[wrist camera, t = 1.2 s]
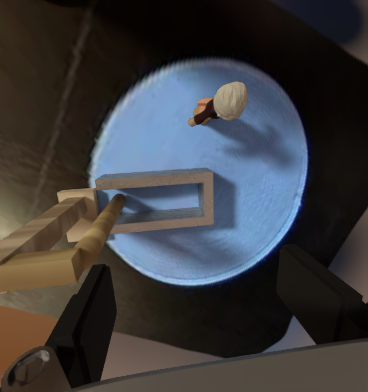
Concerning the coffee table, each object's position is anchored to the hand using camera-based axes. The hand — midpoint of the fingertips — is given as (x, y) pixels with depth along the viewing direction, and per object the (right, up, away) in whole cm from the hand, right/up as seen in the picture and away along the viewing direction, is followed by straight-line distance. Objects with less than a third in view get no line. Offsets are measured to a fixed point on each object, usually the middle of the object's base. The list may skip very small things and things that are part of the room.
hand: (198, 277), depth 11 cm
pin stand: (-15, +2, +22) cm, 26 cm away
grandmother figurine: (+2, +17, +20) cm, 26 cm away
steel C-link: (-5, +4, +22) cm, 23 cm away
